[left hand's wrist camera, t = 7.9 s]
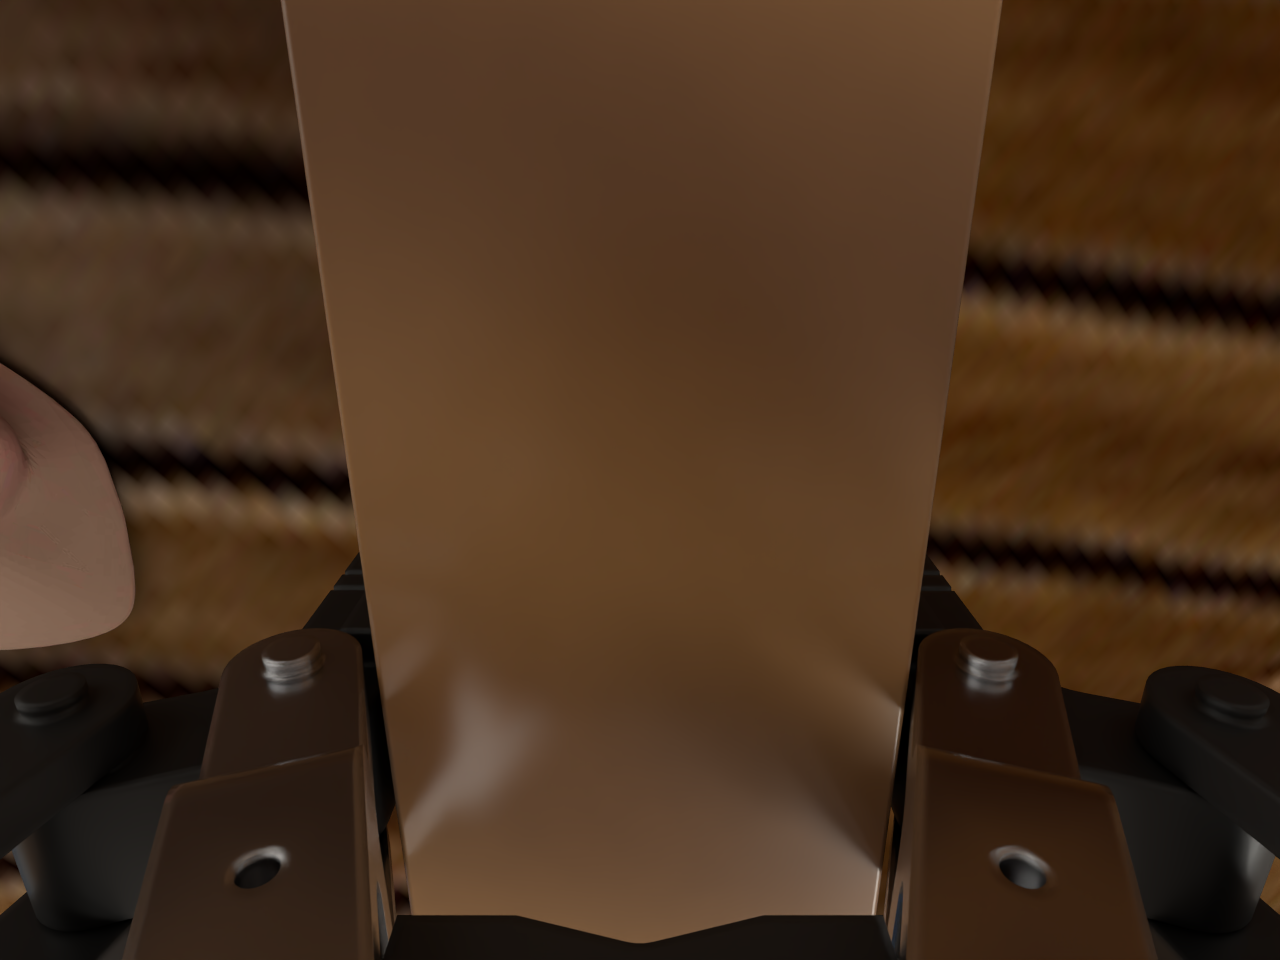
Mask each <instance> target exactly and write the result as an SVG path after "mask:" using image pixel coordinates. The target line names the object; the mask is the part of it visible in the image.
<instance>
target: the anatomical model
mask: <svg viewBox="0 0 1280 960" xmlns="http://www.w3.org/2000/svg"><path fill="white" fill-rule="evenodd" d="M134 600H135V577H134V566H133V560H132V555H131V549H130V544H129V538H128V533H127V527H126V522H125V517H124V514H123V510H122V507H121V503H120V500H119V497H118V494H117V492H116V489H115V486H114V483H113V481H112V478H111V475H110V472H109V469H108V467H107V464H106V461H105V459H104V457H103V455H102V453H101V451H100V449H99V447H98V445H97V443H96V442H95V440H94V439H93V438H92V436H91V435H90V433H89V432H88V431H87V430H86V428H85V427H84V426H83V425H82V424H81V423H80V422H79V421H78V420H77V419H76V418H75V417H74V416H72V415H71V414H70V413H69V412H68V411H67V410H66V409H64V408H63V407H62V406H61V405H59V404H58V403H57V402H56V401H55V400H53V399H52V398H51V397H49V396H48V395H47V394H45V393H44V392H42V391H41V390H40V389H38V388H37V387H36V386H34V385H33V384H31V383H30V382H28V381H27V380H25V379H24V378H22V377H21V376H19V375H18V374H16V373H15V372H13V371H12V370H10V369H9V368H7V367H6V366H4V365H2V364H1V363H0V650H12V649H24V648H35V647H44V646H50V645H57V644H64V643H70V642H75V641H79V640H83V639H87V638H92V637H95V636H98V635H101V634H103V633H106V632H108V631H110V630H112V629H114V628H116V627H118V626H119V625H120V624H121V623H123V622H124V621H125V620H126V619H127V617H128V616H129V615H130V613H131V611H132V609H133V605H134Z"/></svg>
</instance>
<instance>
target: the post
mask: <svg viewBox="0 0 1280 960" xmlns="http://www.w3.org/2000/svg"><path fill="white" fill-rule="evenodd" d="M1002 1H1003V0H281V6H282V13H283V20H284V27H285V34H286V41H287V48H288V55H289V62H290V69H291V76H292V83H293V90H294V97H295V104H296V111H297V118H298V125H299V132H300V139H301V146H302V153H303V160H304V167H305V174H306V181H307V188H308V195H309V202H310V209H311V216H312V223H313V230H314V237H315V244H316V251H317V258H318V265H319V272H320V279H321V286H322V293H323V300H324V306H325V313H326V320H327V327H328V334H329V341H330V348H331V355H332V362H333V369H334V376H335V383H336V390H337V397H338V404H339V411H340V418H341V425H342V432H343V439H344V446H345V453H346V460H347V467H348V474H349V481H350V488H351V495H352V502H353V509H354V516H355V523H356V530H357V537H358V544H359V551H360V558H361V565H362V572H363V579H364V586H365V593H366V600H367V607H368V614H369V621H370V628H371V635H372V641H373V648H374V655H375V662H376V669H377V676H378V683H379V690H380V697H381V704H382V711H383V718H384V725H385V732H386V739H387V746H388V753H389V760H390V767H391V774H392V781H393V788H394V795H395V802H396V809H397V816H398V823H399V830H400V837H401V844H402V851H403V858H404V865H405V872H406V879H407V886H408V893H409V900H410V907H411V914H412V915H518V916H522V917H526V918H530V919H534V920H539V921H543V922H547V923H551V924H555V925H559V926H563V927H568V928H572V929H576V930H580V931H584V932H588V933H592V934H597V935H601V936H605V937H609V938H613V939H617V940H621V941H626V942H631V943H649V942H654V941H659V940H663V939H667V938H671V937H675V936H679V935H683V934H688V933H692V932H696V931H700V930H704V929H708V928H712V927H717V926H721V925H725V924H729V923H733V922H737V921H741V920H746V919H750V918H754V917H758V916H762V915H876V910H877V902H878V895H879V888H880V881H881V873H882V866H883V859H884V852H885V845H886V837H887V830H888V823H889V816H890V809H891V801H892V794H893V787H894V780H895V772H896V765H897V758H898V751H899V744H900V736H901V729H902V722H903V715H904V708H905V700H906V693H907V686H908V679H909V671H910V664H911V657H912V650H913V643H914V635H915V628H916V621H917V614H918V607H919V599H920V592H921V585H922V578H923V570H924V563H925V556H926V549H927V542H928V534H929V527H930V520H931V513H932V506H933V498H934V491H935V484H936V477H937V469H938V462H939V455H940V448H941V441H942V433H943V426H944V419H945V412H946V405H947V397H948V390H949V383H950V376H951V368H952V361H953V354H954V347H955V340H956V332H957V325H958V318H959V311H960V304H961V296H962V289H963V282H964V275H965V267H966V260H967V253H968V246H969V239H970V231H971V224H972V217H973V210H974V203H975V195H976V188H977V181H978V174H979V166H980V159H981V152H982V145H983V138H984V130H985V123H986V116H987V109H988V102H989V94H990V87H991V80H992V73H993V65H994V58H995V51H996V44H997V37H998V29H999V22H1000V15H1001V8H1002Z"/></svg>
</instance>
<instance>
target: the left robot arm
mask: <svg viewBox="0 0 1280 960" xmlns="http://www.w3.org/2000/svg"><path fill="white" fill-rule="evenodd" d="M395 803H396V802H395V795H394V788H393V781H392V774H391V767H390V760H389V753H388V746H387V739H386V732H385V725H384V718H383V711H382V704H381V697H380V690H379V683H378V676H377V669H376V662H375V655H374V648H373V641H372V635H371V628H370V621H369V614H368V607H367V600H366V593H365V586H364V579H363V572H362V565H361V558H360V552H359V553H358V554H357V556H356V557H355V558H354V560H353V561H352V563H351V564H350V565H349V567H348V568H347V569H346V571H345V575H342V576H341V577H340V579H339V580H338V581H337V583H336V584H335V586H334V590H331V591H330V592H329V594H328V595H327V596H326V598H325V599H324V600H323V602H322V603H321V604H320V606H319V607H318V609H317V610H316V611H315V613H314V614H313V615H312V617H311V618H310V619H309V621H308V622H307V623H306V625H305V626H304V627H303V629H301V630H294V631H289V632H285V633H281V634H278V635H274V636H271V637H269V638H266V639H263V640H261V641H259V642H257V643H255V644H253V645H251V646H249V647H247V648H246V649H244V650H243V651H241V652H240V653H239V654H237V655H236V656H235V657H234V658H233V659H232V660H231V661H230V662H229V663H228V664H227V666H226V667H225V669H224V671H223V673H222V676H221V681H220V685H219V688H217V689H213V690H208V691H204V692H199V693H193V694H188V695H183V696H177V697H172V698H167V699H161V700H156V701H150V702H145V703H143V701H142V697H141V694H140V690H139V686H138V683H137V679H136V677H135V675H134V674H133V673H132V672H131V671H130V670H128V669H126V668H124V667H121V666H117V665H110V664H88V665H79V666H73V667H67V668H63V669H59V670H55V671H52V672H48V673H45V674H42V675H39V676H36V677H34V678H31V679H29V680H26V681H24V682H22V683H19V684H17V685H15V686H13V687H11V688H9V689H7V690H6V691H4V692H2V693H0V859H1V858H2V857H4V856H5V855H6V854H7V853H9V852H10V851H11V850H12V852H13V855H14V858H15V861H16V863H17V866H18V869H19V871H20V874H21V877H22V880H23V882H24V885H25V888H26V891H27V892H26V893H25V894H24V895H23V896H22V897H21V898H19V899H18V900H17V901H16V902H15V903H14V904H12V905H11V906H10V907H9V908H8V909H7V910H6V911H4V912H3V913H2V914H1V915H0V960H1280V915H1279V914H1278V913H1277V912H1276V911H1274V910H1273V909H1272V908H1271V907H1270V906H1269V905H1268V904H1266V903H1265V902H1264V901H1263V900H1262V899H1261V898H1260V895H1261V893H1262V890H1263V887H1264V885H1265V882H1266V879H1267V877H1268V874H1269V871H1270V869H1271V866H1272V863H1273V860H1274V858H1275V856H1276V857H1278V858H1279V859H1280V694H1279V693H1278V692H1276V691H1274V690H1272V689H1270V688H1268V687H1266V686H1264V685H1262V684H1259V683H1257V682H1255V681H1252V680H1249V679H1247V678H1244V677H1241V676H1238V675H1235V674H1232V673H1228V672H1224V671H1220V670H1216V669H1210V668H1204V667H1195V666H1173V667H1166V668H1162V669H1159V670H1157V671H1155V672H1153V673H1152V674H1151V675H1150V676H1149V677H1148V679H1147V681H1146V685H1145V689H1144V692H1143V696H1142V700H1141V703H1135V702H1130V701H1125V700H1119V699H1114V698H1108V697H1103V696H1098V695H1092V694H1087V693H1082V692H1078V691H1073V690H1069V689H1066V688H1062V687H1061V685H1060V681H1059V676H1058V673H1057V671H1056V669H1055V667H1054V666H1053V664H1052V663H1051V662H1050V661H1049V660H1048V659H1047V658H1046V657H1045V656H1044V655H1043V654H1041V653H1040V652H1039V651H1037V650H1036V649H1034V648H1033V647H1031V646H1029V645H1027V644H1025V643H1023V642H1021V641H1019V640H1017V639H1014V638H1011V637H1009V636H1006V635H1002V634H999V633H995V632H991V631H986V630H983V629H982V627H981V626H980V625H979V623H978V622H977V621H976V619H975V618H974V617H973V615H972V614H971V613H970V612H969V610H968V609H967V608H966V606H965V605H964V604H963V602H962V601H961V600H960V598H959V597H958V596H957V594H956V593H955V592H954V591H951V586H950V585H949V584H948V582H947V581H946V580H945V578H944V577H943V576H942V575H940V572H939V570H938V569H937V568H936V566H935V565H934V564H933V562H932V561H931V560H930V558H929V557H928V556H927V554H926V556H925V563H924V570H923V578H922V585H921V592H920V599H919V607H918V614H917V621H916V628H915V635H914V643H913V650H912V657H911V664H910V671H909V679H908V686H907V693H906V700H905V708H904V715H903V722H902V729H901V736H900V744H899V751H898V758H897V765H896V772H895V780H894V787H893V794H892V801H891V807H892V810H893V812H894V820H893V827H892V834H891V841H890V849H889V861H888V873H887V885H886V896H885V908H884V917H883V915H762V916H758V917H754V918H750V919H746V920H741V921H737V922H733V923H729V924H725V925H721V926H717V927H712V928H708V929H704V930H700V931H696V932H692V933H688V934H683V935H679V936H675V937H671V938H667V939H663V940H659V941H654V942H649V943H631V942H626V941H621V940H617V939H613V938H609V937H605V936H601V935H597V934H592V933H588V932H584V931H580V930H576V929H572V928H568V927H563V926H559V925H555V924H551V923H547V922H543V921H539V920H534V919H530V918H526V917H522V916H518V915H397V917H396V909H395V897H394V885H393V873H392V862H391V850H390V841H389V834H388V828H387V823H388V821H389V819H390V816H391V814H392V811H393V808H394V806H395Z"/></svg>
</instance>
